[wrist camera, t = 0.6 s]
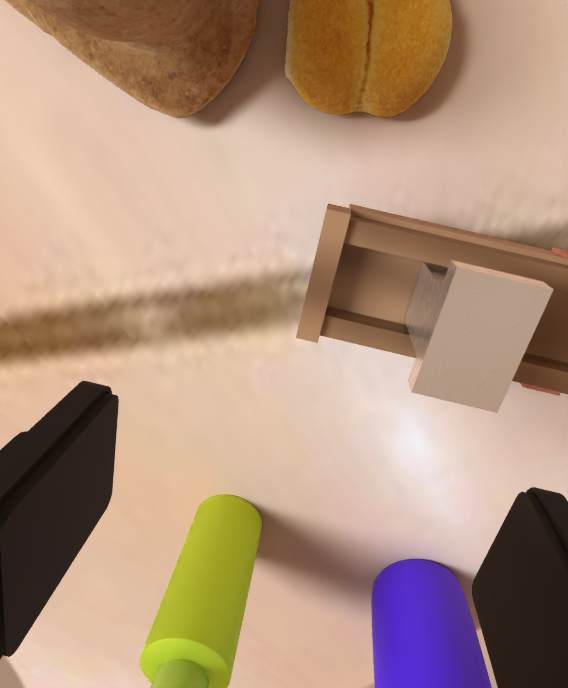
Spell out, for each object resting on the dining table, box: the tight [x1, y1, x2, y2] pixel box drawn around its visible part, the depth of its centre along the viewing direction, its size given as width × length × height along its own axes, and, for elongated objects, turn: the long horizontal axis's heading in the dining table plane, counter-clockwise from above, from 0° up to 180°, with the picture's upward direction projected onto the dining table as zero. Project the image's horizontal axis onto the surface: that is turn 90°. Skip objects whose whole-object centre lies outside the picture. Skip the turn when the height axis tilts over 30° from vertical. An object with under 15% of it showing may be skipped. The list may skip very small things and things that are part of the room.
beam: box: [296, 204, 568, 395], centre depth 28 cm, size 7×27×8 cm, turn 78°
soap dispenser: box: [140, 495, 262, 688], centre depth 33 cm, size 6×7×20 cm
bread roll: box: [285, 0, 452, 117], centre depth 26 cm, size 8×9×4 cm
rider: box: [404, 260, 554, 413], centre depth 24 cm, size 6×4×6 cm, turn 168°
